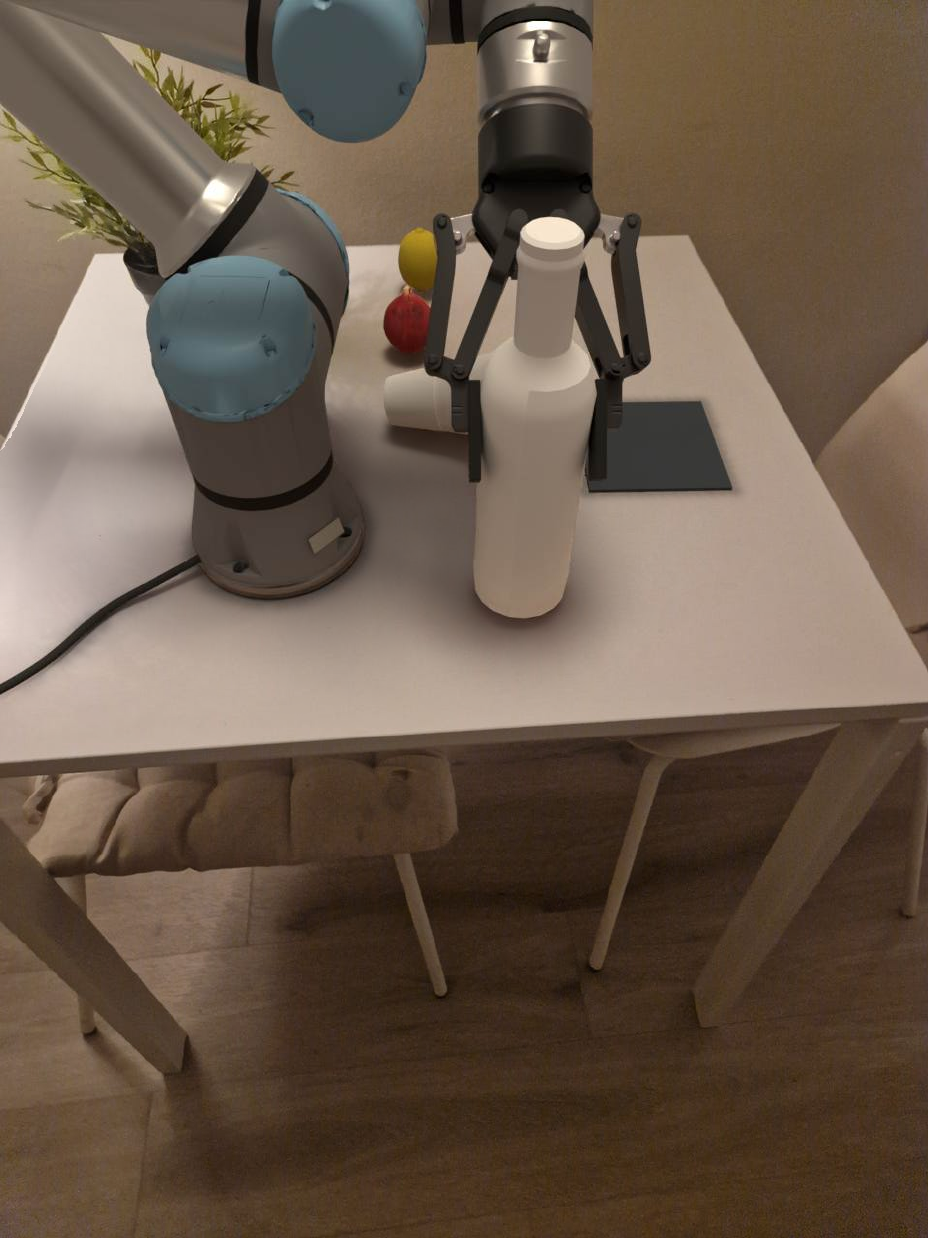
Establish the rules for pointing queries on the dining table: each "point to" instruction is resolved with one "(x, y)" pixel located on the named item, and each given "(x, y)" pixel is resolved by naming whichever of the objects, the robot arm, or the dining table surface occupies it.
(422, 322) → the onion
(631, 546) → the dining table surface
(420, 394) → the cup
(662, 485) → the mat
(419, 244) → the lemon
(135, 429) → the dining table surface
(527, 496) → the bottle
